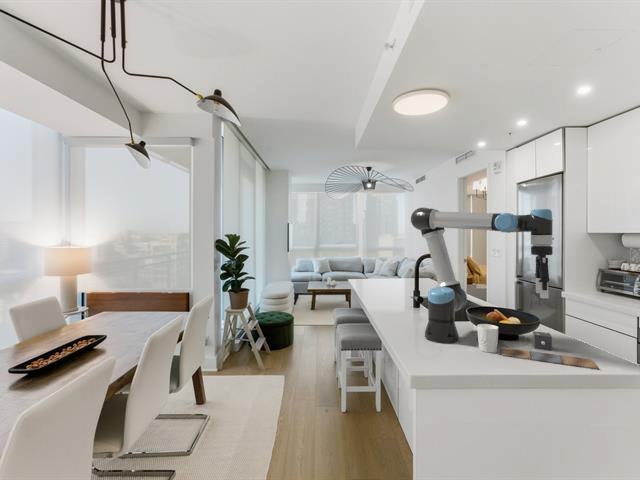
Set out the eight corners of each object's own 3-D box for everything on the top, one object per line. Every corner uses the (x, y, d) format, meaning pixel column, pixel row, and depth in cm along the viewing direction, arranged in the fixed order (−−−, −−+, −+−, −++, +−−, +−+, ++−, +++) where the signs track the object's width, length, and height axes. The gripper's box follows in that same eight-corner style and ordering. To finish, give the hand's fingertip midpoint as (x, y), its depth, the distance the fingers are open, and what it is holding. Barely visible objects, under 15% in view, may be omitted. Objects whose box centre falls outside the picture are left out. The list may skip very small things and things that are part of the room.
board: (502, 355, 127) (502, 354, 127) (501, 348, 136) (501, 347, 136) (598, 369, 113) (598, 368, 113) (590, 360, 121) (590, 359, 121)
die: (534, 349, 135) (534, 334, 135) (532, 344, 140) (532, 331, 140) (551, 351, 132) (551, 336, 132) (549, 346, 137) (549, 332, 137)
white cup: (490, 354, 128) (490, 330, 128) (473, 348, 135) (473, 325, 135) (502, 351, 132) (502, 327, 132) (485, 345, 139) (485, 323, 139)
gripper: (557, 246, 122) (558, 301, 122) (547, 245, 144) (548, 291, 144) (534, 246, 125) (534, 299, 125) (527, 245, 147) (528, 290, 147)
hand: (541, 295), depth 135 cm, fingers open, 13 cm apart
